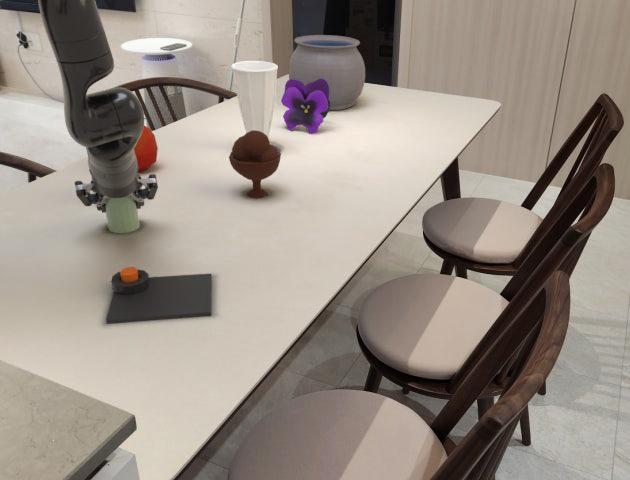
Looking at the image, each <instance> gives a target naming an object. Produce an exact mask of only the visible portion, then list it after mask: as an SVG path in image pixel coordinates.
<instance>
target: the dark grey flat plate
mask: <svg viewBox="0 0 630 480" xmlns="http://www.w3.org/2000/svg"><path fill="white" fill-rule="evenodd" d="M136 269H137V270H138V276H139V279H138V280H137V281H133V282H127V283H126V282H122V280H121V275H120V271H118V272H116V273H115V274H113V275H112V276H111V280H110V283H111V288H112V290H113V292H112V297H111V300H110V304H109V307H108V312H107V314H106V315H107V316H106V319H105V321H106V324H107V325H110V324H123V323H134V322H135V323H137V322H149V321H162V320H174V319H176V320H177V319H189V318H199V317H200V318H203V317H212V309H213V307H212V304H213V303H212V302H213V301H212V299H213V296H212V295H213V287H212V286H213V275H212V273H198V274H182V275H166V276H165V275H164V276H151V277H150V276H149V273H148V272H146V271H145V270H144V269H139V268H136Z"/></svg>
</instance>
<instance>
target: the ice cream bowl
mask: <svg viewBox="0 0 630 480" xmlns="http://www.w3.org/2000/svg"><path fill="white" fill-rule="evenodd" d="M270 144H271V143H270V138H269V137H267V135H265V134H264V133H262V132H260V131H255V130H252V131H250V132H248V133H246V132H245V134H244V135H242V136H239V137H238V138H237V139H236V140H235V141H234V144H233V146H232V149H231V151H230V154H229V155H228V158H229V159H228V160H229V163H230V166H231V167H232V169H233V170H234V171H235V172H236V173H237V174H239V175H240V176H242V177H243V178H245V179H247V180H250V181H251V182H252V189H250V190H248V191H246V193H245V196H247V197H248V198H250V199H262V198H263V199H264V198H265V197H268V196H269V192H268V191H266V190H265V189H263V188H262V184H261V183H262V181H263V180H265V179H267V178H269V177H271V176H272V175H274V174H275V173H276V172H277V170H278V168H279V166H280V162H281V158H282V157H281V156H282V153H281V151H280V152H278V151H277V149H276V148H275V147H274V146H273V145H274V144H271V145H270Z"/></svg>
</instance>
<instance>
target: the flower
mask: <svg viewBox="0 0 630 480" xmlns="http://www.w3.org/2000/svg"><path fill="white" fill-rule="evenodd" d="M328 99H329V86H328V83H327V82H326V81H325V80H324V79H318V80H316V81H314V82H311V83H308V84H307V85H306V86H305V85H304V84H303V83H302V82H300V81H298V80H294V79H290V80H289V79H288V80H287V81H286V82H285V85H284V93H283V94H282V96H281V101H280V102H281V104H282V105H283V106H284V107H285V108H287V109H286V110H285V111H284V113H283V115H282V118H283V121H284V124H285V125H286V128H287V130H288V131H290V132H291V131H293V130H294V129H296V128H297V127H298V126H301V125H302V126H303V127H305V129H306V130H307V131H308V133H309V134H310V135H311V134H312V135H314V134H317V132H318V130H319V127H320V126H321V125H322V124H323V123H324V119H325V118H326V117H327V115H328V113H329V112H330V110H329V108H330V101H329V100H328Z"/></svg>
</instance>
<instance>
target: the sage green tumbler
mask: <svg viewBox="0 0 630 480" xmlns="http://www.w3.org/2000/svg"><path fill="white" fill-rule="evenodd" d="M104 205H105V217H106V222H107V223H106V224H107V229H108V230H109V232H112V233H115V234H128V233H132V232H134V231H137V230H138V229H140V226H141V223H140V216H139V211H138V210H139V209H137V204H136V200H131V199H129V198H128V197H122V198H111V199H110V201H109V202H108V203H104Z"/></svg>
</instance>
